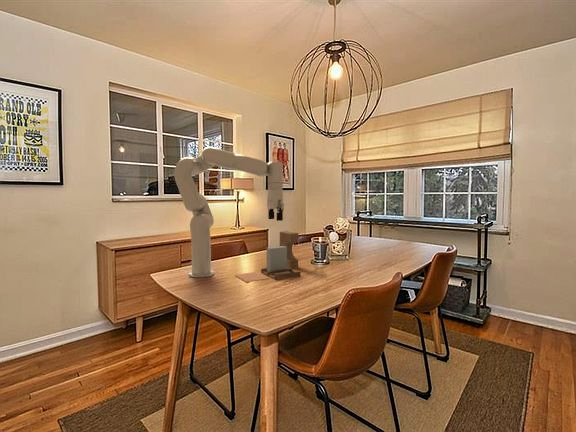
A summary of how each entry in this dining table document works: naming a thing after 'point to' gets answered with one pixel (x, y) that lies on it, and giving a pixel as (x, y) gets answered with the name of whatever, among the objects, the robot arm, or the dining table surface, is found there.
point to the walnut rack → (281, 276)
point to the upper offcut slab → (282, 273)
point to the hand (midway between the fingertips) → (275, 219)
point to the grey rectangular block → (276, 258)
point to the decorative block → (289, 247)
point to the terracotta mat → (251, 277)
